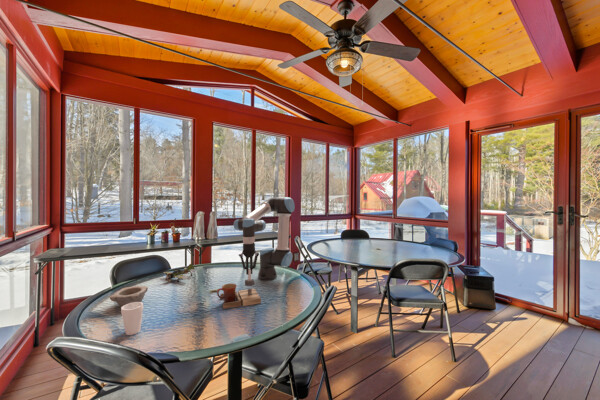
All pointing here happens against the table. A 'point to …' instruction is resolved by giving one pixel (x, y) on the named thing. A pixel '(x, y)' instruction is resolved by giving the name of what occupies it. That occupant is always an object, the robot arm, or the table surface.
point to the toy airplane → (180, 273)
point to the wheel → (249, 282)
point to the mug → (228, 293)
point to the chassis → (243, 298)
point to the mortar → (129, 295)
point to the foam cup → (132, 317)
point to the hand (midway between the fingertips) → (249, 279)
